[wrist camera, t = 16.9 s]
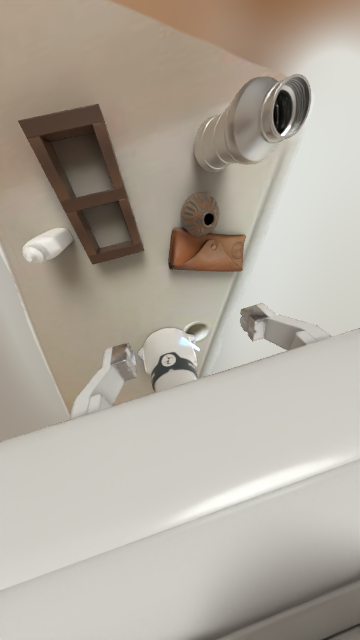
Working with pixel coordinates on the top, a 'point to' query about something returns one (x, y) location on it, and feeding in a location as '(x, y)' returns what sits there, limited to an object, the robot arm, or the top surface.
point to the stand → (39, 138)
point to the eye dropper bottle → (47, 245)
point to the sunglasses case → (205, 251)
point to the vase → (199, 214)
